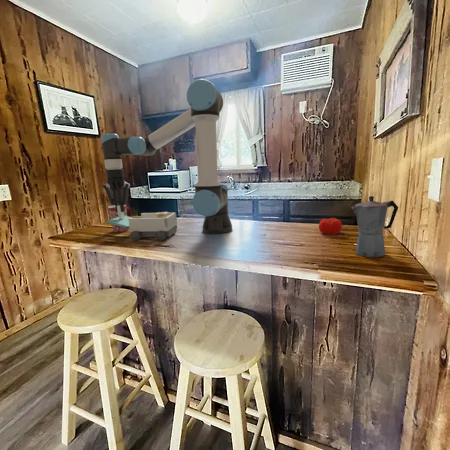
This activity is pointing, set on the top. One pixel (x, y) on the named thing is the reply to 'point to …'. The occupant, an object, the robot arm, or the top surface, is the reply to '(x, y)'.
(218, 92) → the robot arm
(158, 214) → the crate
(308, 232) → the top surface
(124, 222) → the tailgate
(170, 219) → the trailer
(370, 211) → the moka pot
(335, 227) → the tomato
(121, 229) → the mug
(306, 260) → the top surface
